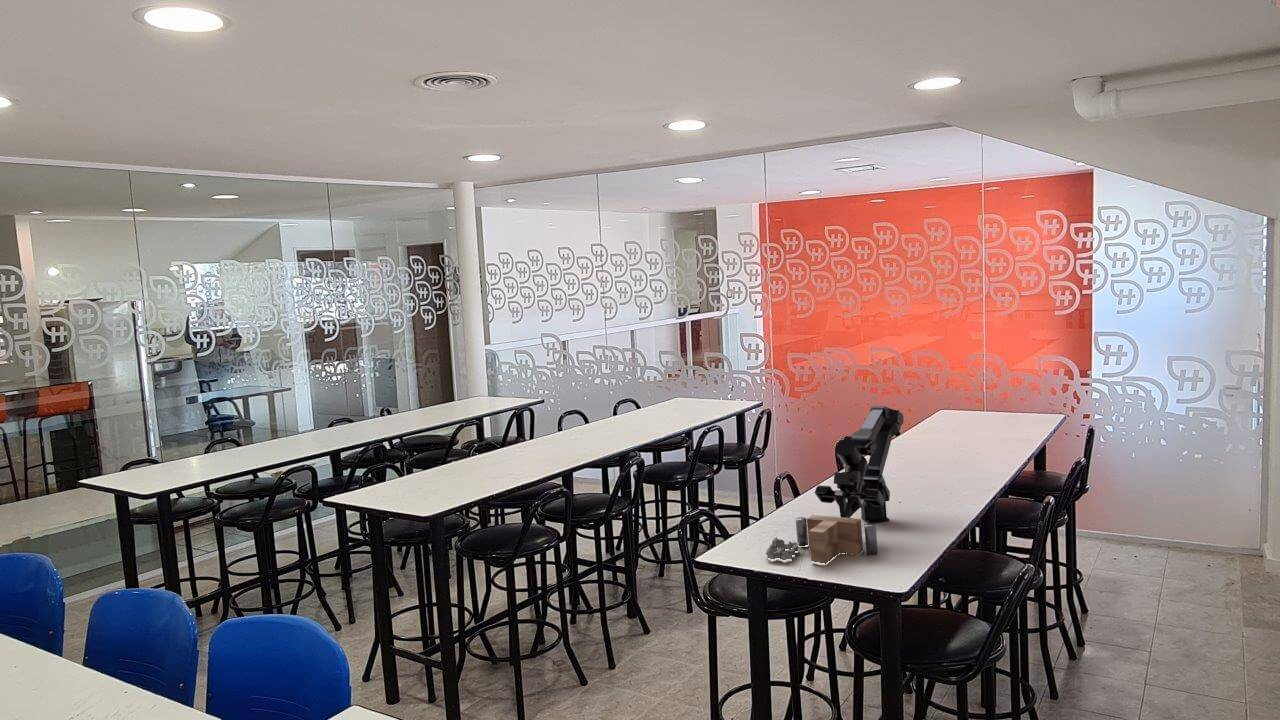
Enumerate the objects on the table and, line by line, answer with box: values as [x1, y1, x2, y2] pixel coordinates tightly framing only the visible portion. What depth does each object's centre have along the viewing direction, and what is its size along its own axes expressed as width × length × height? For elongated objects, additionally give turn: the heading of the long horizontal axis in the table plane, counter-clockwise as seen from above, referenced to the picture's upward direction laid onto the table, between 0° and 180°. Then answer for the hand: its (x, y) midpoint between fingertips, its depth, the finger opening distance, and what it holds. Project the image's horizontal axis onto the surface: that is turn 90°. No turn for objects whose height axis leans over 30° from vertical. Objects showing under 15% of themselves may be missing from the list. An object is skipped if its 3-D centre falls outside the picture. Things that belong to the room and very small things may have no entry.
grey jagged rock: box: [765, 536, 799, 560], centre depth 234 cm, size 11×8×4 cm
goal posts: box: [795, 516, 879, 556], centre depth 234 cm, size 3×23×8 cm, turn 55°
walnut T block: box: [806, 514, 864, 564], centre depth 230 cm, size 14×14×9 cm
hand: (843, 522), depth 239 cm, fingers closed
